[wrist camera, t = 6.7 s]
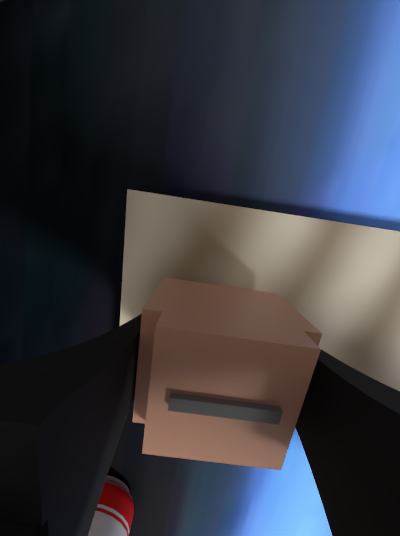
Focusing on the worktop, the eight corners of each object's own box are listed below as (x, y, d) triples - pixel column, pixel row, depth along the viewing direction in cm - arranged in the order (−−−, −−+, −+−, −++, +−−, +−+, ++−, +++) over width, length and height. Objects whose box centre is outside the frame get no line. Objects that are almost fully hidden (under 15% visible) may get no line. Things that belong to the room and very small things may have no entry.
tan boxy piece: (277, 293, 10) (348, 357, 5) (258, 368, 12) (302, 479, 7) (164, 277, 10) (128, 327, 5) (156, 354, 11) (119, 458, 6)
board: (471, 244, 12) (610, 254, 8) (391, 414, 15) (461, 484, 11) (134, 192, 12) (98, 174, 7) (122, 380, 15) (91, 440, 11)
